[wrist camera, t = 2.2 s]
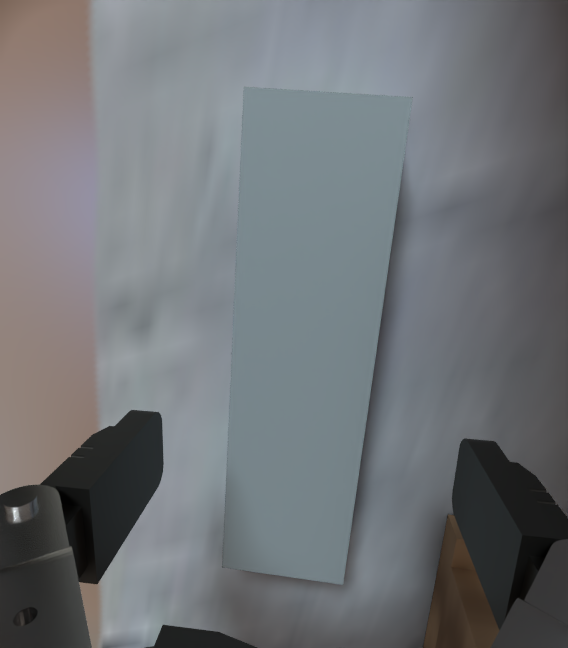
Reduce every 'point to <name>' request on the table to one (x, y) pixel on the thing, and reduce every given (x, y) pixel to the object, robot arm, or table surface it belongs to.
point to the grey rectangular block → (306, 321)
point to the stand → (458, 599)
